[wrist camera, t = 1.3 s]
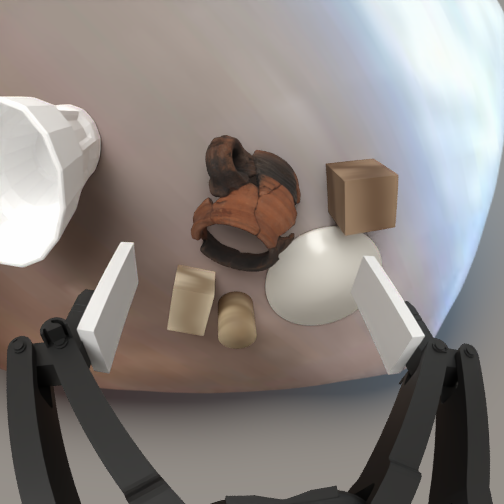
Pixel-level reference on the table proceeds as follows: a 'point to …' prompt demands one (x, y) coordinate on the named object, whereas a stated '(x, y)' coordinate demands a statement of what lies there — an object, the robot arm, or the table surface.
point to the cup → (41, 174)
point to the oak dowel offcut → (236, 320)
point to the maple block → (191, 300)
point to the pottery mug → (247, 203)
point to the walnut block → (362, 195)
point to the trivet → (318, 276)
